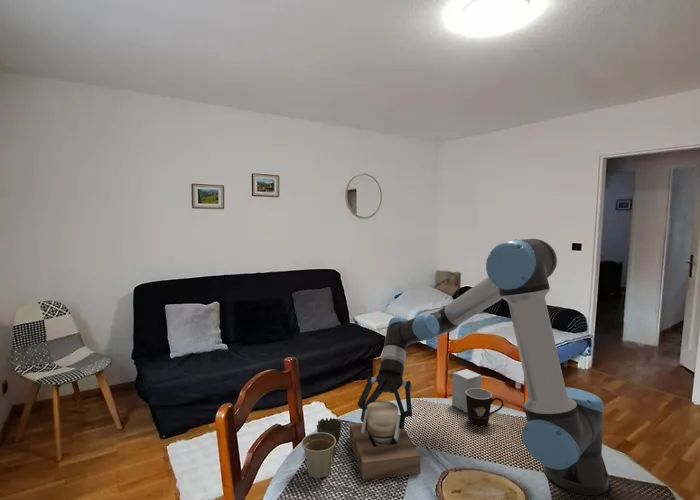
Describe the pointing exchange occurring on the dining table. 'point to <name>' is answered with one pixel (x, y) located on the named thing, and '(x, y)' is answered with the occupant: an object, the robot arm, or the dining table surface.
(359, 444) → the board
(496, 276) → the robot arm
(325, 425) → the dark green spiky plant
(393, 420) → the peg
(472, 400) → the coffee mug
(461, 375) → the supplement box
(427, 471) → the dining table surface
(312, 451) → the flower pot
